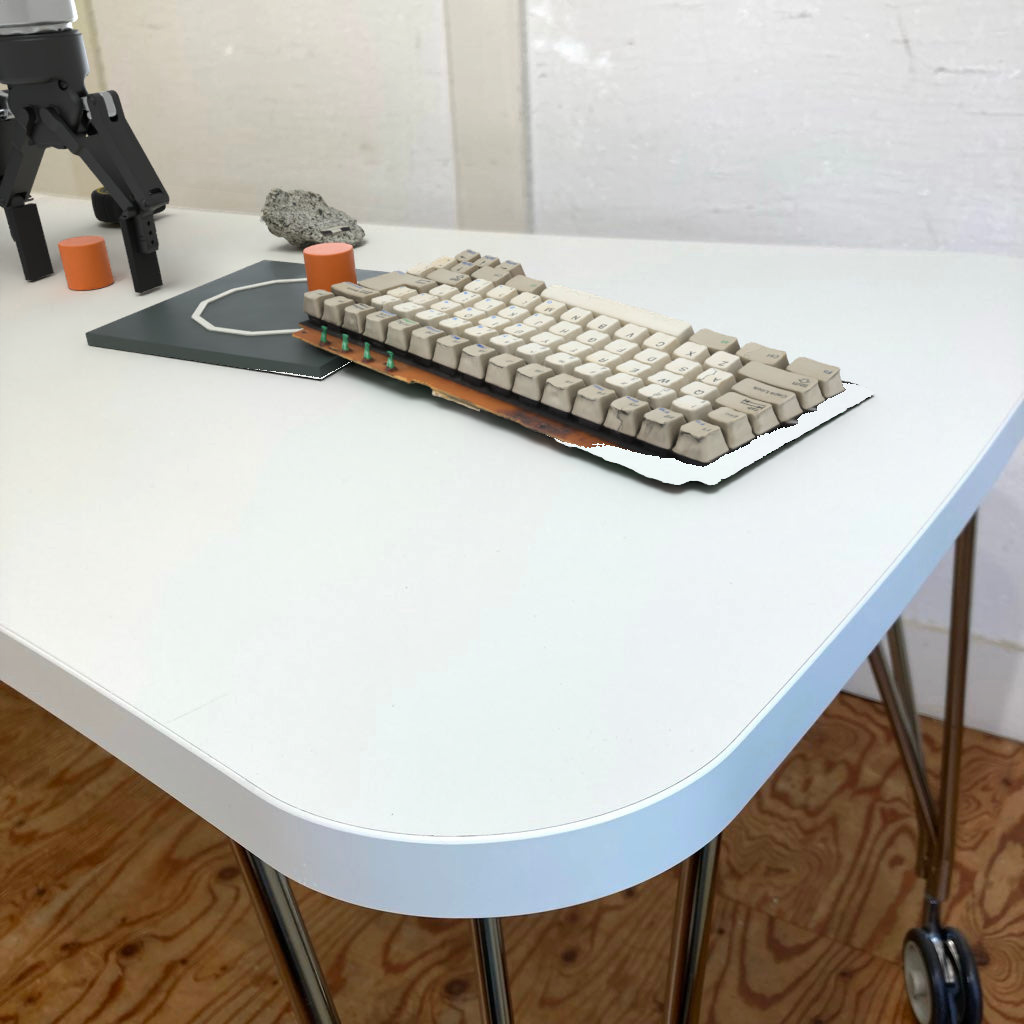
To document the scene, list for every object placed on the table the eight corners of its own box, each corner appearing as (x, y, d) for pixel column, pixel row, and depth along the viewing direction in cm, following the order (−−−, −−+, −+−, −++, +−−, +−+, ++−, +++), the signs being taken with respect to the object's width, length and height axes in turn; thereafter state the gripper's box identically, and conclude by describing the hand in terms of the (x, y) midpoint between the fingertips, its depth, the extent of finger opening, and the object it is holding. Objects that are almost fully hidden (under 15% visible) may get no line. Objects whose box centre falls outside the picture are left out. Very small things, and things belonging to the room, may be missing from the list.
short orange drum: (299, 301, 86) (292, 252, 84) (328, 288, 89) (322, 240, 88) (340, 306, 85) (334, 256, 83) (368, 292, 88) (362, 244, 86)
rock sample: (336, 219, 99) (294, 149, 101) (282, 272, 102) (242, 202, 104) (397, 243, 108) (358, 177, 110) (346, 290, 111) (308, 226, 113)
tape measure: (130, 231, 116) (123, 196, 114) (83, 227, 119) (75, 193, 117) (172, 216, 122) (166, 183, 120) (126, 213, 124) (119, 180, 122)
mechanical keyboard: (875, 395, 67) (882, 343, 65) (696, 505, 55) (700, 445, 53) (461, 281, 90) (459, 241, 88) (273, 341, 78) (267, 296, 76)
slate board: (87, 345, 82) (84, 331, 82) (265, 270, 99) (263, 258, 99) (321, 380, 73) (319, 365, 73) (472, 291, 90) (471, 278, 90)
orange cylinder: (58, 288, 97) (47, 244, 95) (91, 276, 100) (81, 234, 98) (90, 292, 95) (80, 247, 93) (123, 280, 98) (113, 237, 96)
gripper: (179, 22, 85) (226, 282, 95) (-33, 28, 95) (29, 262, 105) (110, 30, 79) (168, 306, 89) (-108, 35, 90) (-35, 282, 100)
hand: (93, 283), depth 97 cm, fingers open, 13 cm apart
